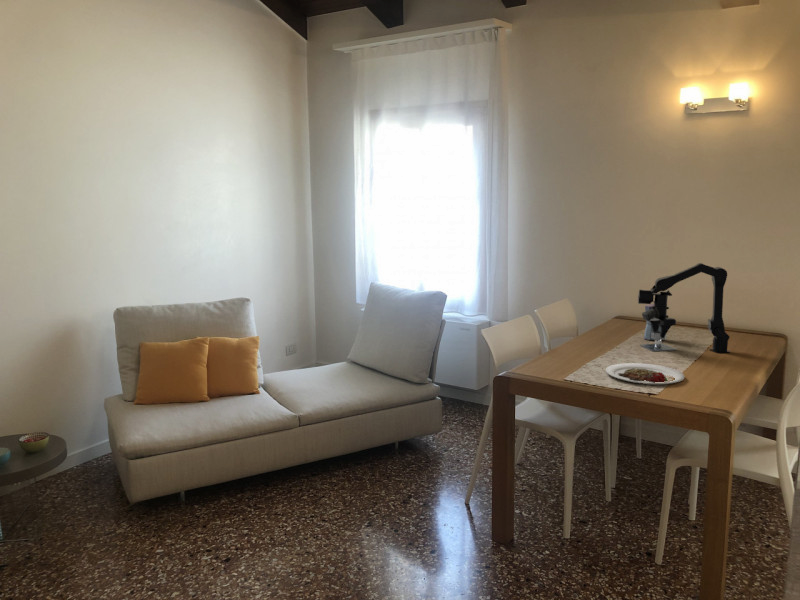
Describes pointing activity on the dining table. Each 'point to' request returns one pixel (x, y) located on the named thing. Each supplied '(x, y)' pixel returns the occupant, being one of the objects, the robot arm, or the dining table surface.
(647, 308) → the moka pot
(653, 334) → the ring
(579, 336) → the dining table surface
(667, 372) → the plated food
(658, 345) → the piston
